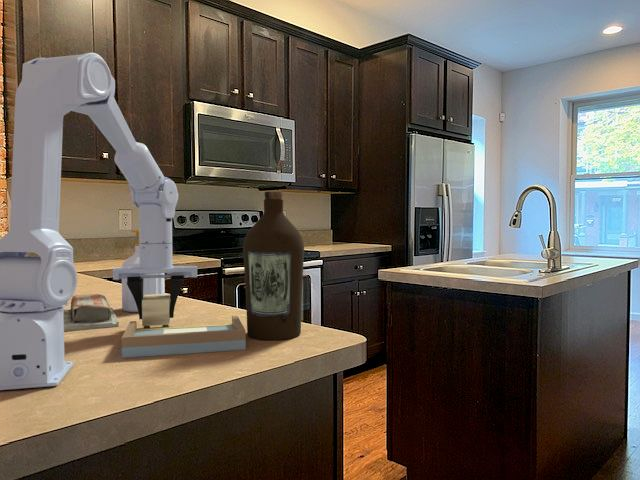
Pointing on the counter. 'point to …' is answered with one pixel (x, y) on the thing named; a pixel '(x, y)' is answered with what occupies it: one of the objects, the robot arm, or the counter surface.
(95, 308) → the packaged product
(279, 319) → the olive oil
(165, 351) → the dock
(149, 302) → the beige block with rod
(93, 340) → the counter surface
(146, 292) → the soap bottle
